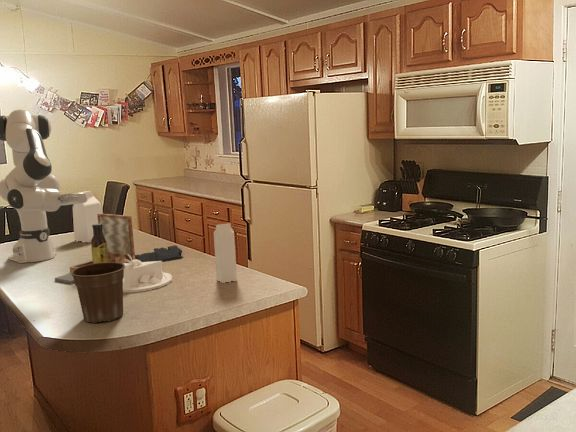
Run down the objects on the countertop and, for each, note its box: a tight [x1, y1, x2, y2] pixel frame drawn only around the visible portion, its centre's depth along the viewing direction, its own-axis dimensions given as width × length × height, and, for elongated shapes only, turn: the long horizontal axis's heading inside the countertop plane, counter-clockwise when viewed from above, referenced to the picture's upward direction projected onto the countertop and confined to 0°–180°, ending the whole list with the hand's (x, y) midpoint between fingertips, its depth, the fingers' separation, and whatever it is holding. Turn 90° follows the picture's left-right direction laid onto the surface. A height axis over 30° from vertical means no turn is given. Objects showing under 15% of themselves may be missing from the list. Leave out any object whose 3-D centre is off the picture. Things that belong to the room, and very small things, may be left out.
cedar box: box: [69, 213, 136, 274], centre depth 237 cm, size 20×18×22 cm
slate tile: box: [54, 272, 75, 285], centre depth 226 cm, size 10×10×1 cm
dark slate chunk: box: [134, 245, 184, 263], centre depth 254 cm, size 15×22×5 cm
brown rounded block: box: [115, 256, 126, 264], centre depth 239 cm, size 4×4×5 cm
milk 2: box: [213, 222, 238, 284], centre depth 213 cm, size 6×6×22 cm
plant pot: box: [71, 262, 125, 324], centre depth 179 cm, size 16×16×16 cm
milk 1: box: [72, 190, 104, 243], centre depth 299 cm, size 12×12×26 cm
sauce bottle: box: [90, 224, 108, 264], centre depth 236 cm, size 6×6×20 cm
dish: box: [123, 254, 173, 294], centre depth 217 cm, size 25×25×11 cm
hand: (76, 200), depth 226 cm, fingers open, 8 cm apart
